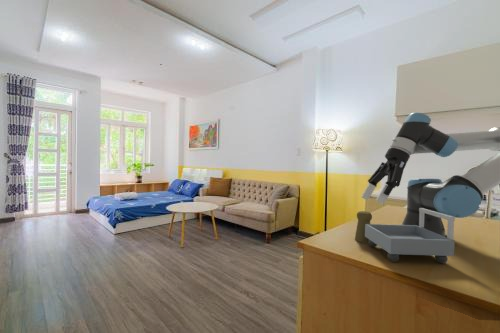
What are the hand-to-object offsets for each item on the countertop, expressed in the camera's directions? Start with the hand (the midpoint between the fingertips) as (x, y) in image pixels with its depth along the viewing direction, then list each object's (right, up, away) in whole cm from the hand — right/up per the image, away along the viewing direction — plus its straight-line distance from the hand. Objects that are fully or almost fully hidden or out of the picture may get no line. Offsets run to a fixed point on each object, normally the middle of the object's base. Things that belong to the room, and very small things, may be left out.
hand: (371, 200), depth 88 cm
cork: (-3, -15, 0) cm, 16 cm away
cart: (+4, -16, -13) cm, 21 cm away
